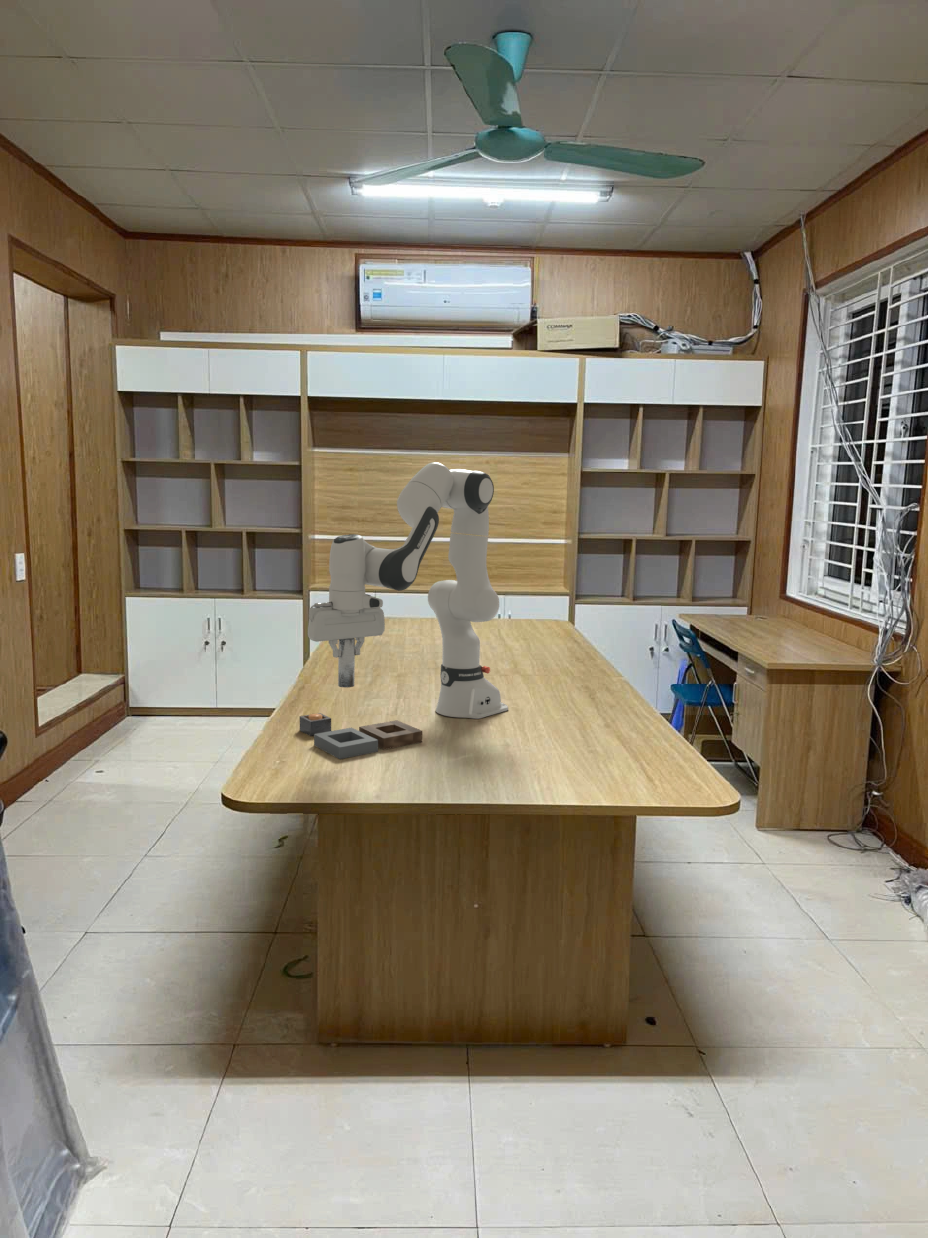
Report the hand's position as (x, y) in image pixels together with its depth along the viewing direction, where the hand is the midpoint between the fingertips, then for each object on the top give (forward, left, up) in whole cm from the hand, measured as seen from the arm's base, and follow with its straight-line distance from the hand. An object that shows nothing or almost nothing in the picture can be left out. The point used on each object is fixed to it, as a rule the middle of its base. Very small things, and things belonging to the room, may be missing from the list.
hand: (346, 655), depth 211 cm
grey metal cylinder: (0, 0, -8) cm, 8 cm away
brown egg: (0, -17, -23) cm, 29 cm away
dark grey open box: (-1, -17, -24) cm, 29 cm away
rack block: (0, 0, -24) cm, 24 cm away
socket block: (-14, 0, -24) cm, 27 cm away
